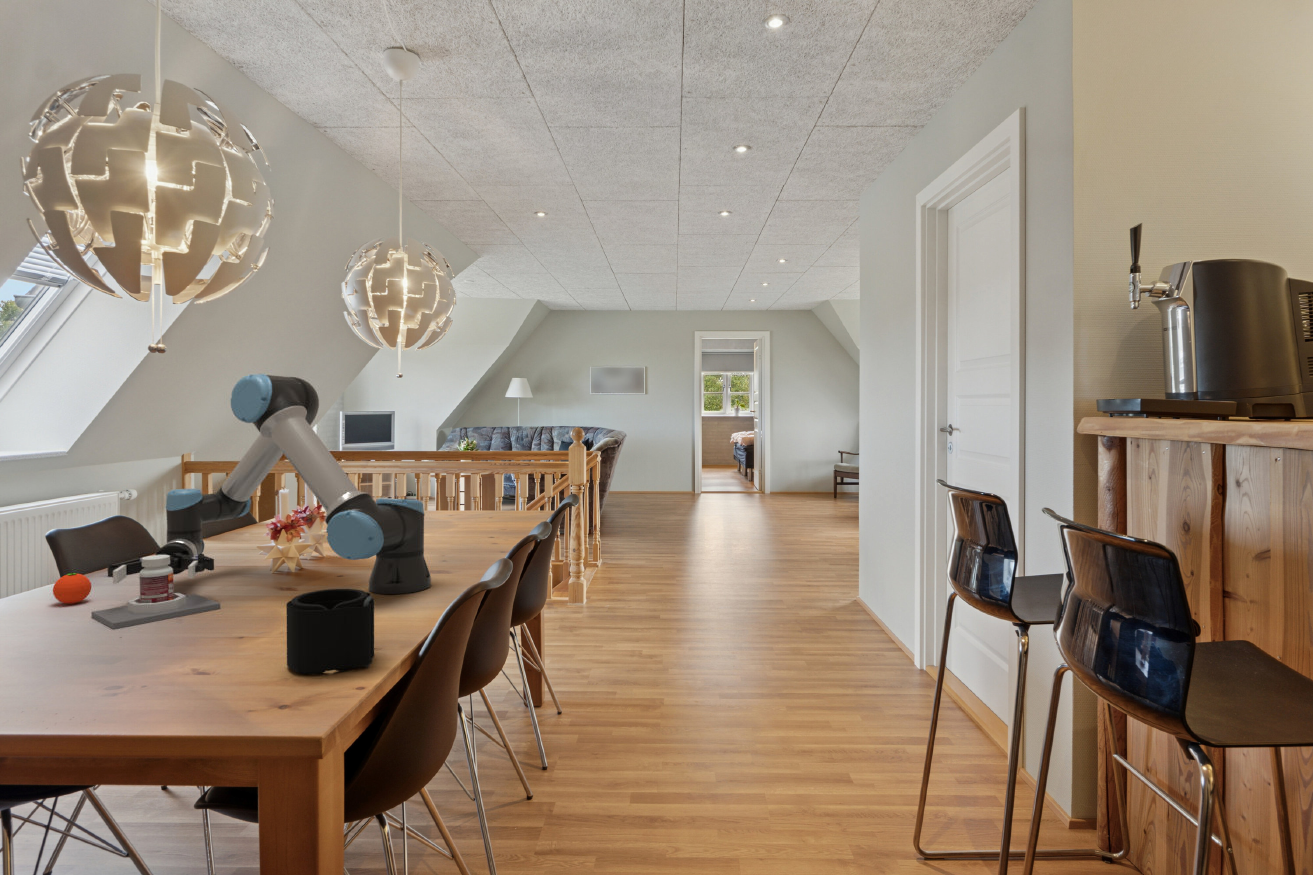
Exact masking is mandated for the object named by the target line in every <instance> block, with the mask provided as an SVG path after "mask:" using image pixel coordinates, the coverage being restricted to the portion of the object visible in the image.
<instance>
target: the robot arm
mask: <svg viewBox="0 0 1313 875" xmlns="http://www.w3.org/2000/svg"><path fill="white" fill-rule="evenodd" d="M230 408H231V411H232V413H233V415H234V416H235V417H236V418H237V419H238V420H239V421H241V422H244V423H246V424H251V423H252V424H253V425H254V427H255V428H256V429H257V431H258V432H259V433H260V434H259V435H258V437H256V440H254V442H253V443H252V445H251V446H250V447H249V449H248V450H247V451H246V452H245V454H244V455H243V456H242V458H241V460H240V461H239V462H238V463H237V464H236V466H235V467H234V469H233V470H232V472H230V474H229V475H228V477H227V478H226V480H225V481H223V484H222V485H221V486H220V487H219V488H218V490H217V491H216V492H214V493H213V492H212V493H207V494H206V493H204V494H202V491H201V489H199V488H179V489H178V488H177V489H172V490H169V491H168V492H167V494H166V502H165V510H166V512H165V513H166V543H165V544H164V545H163V546H162V547H160V548H159V549H157V551H156V552H155V554H154V555H169V556H170V564H168V566H170V567H171V568H172V569H173V576H174V575H179V574H182V573H183V572H184V571H187V572H188V573H187V579H194V577H195V576H196V575H197V574H198V573H202V572H204V571H205V570H206V571H210V572H211V571H214V570H215V559H214V558H212V557H209V556H207V555H205V554H204V550H205V542H204V539H203V538H202V537H203V536H202V531H203V529H202V527H203V524H205V523H211V522H218V521H225V520H234V519H237V518H240V517H244V516H246V514H248V513H249V512H250V510H251V505H252V500H251V497H252V495H253V494H254V493H255V491H256V490H257V489H258V487H259V486H261V484H262V482H263V481H264V480H265V479H266V477H267V476H268V475H269V473H270V472H271V471H272V469H273V468H274V467H275V465H276V464H277V462H279V461H280V459H281V458H282V456H283V455H284V457H285V458H286V459H287V460H288V462H290V464H291V465H292V467H293V468H294V470H295V471H296V472H297V474H298V475H299V477H300V478H301V479H302V481H303V482H304V483H305V484H306V486H307V487H308V488H309V489H310V491H311V492H312V494H313V496H314V497H315V498H316V500H317V501H318V502H319V504H320V505H321V506H322V507H323V509H324V510H325V512H326V514H325V518H324V522H325V524H326V530H325V531H326V533H327V536H326V540H327V543H328V545H329V546H330V548H331V550H333V552H334V553H335V554H336V555H338V556H339V557H341V558H342V559H345V560H346V559H347V560H349V561H350V560H352V561H357V560H365V559H369V558H373V557H374V556H375V561H374V564H373V567H372V570H371V574H370V576H369V580H368V591H370V592H371V593H375V594H382V595H383V594H384V595H396V594H397V595H399V594H400V595H401V594H410V593H415V592H420V591H423V590H427V589H428V588H430V587H431V584H432V578H431V573H430V570H429V567H428V564H427V562H426V560H425V559H426V558H425V556H424V555H425V546H424V545H425V508H424V507H425V506H424V503H423V502H422V501H421V500H419V499H410V498H409V499H404V498H403V499H402V498H384V497H383V498H379V497H378V498H377V499H376V501H375V500H374V498H373V497H372V495H371V494H370V493H369V492H366V491H360V490H359V489H358V488H357V486H356V485H355V484H354V481H352V480H351V479H350V477H349V476H348V474H347V472H345V470H344V469H343V468H342V466H341V465H340V464H339V462H338V461H337V459H336V458H335V457H334V456H333V455H332V453H331V451H329V449H328V448H327V446H326V445H325V443H324V442H323V441H322V439H321V438H320V437H319V436H318V434H317V432H316V431H315V430H314V429H313V428H312V426H311V425H312V424H313V422H314V421H315V419H316V416H317V415H318V411H319V408H320V399H319V395H318V393H317V391H316V389H315V388H314V386H313V384H311V383H310V382H309V381H307V380H305V379H303V378H300V377H295V376H282V375H281V376H280V375H272V374H271V375H269V374H264V373H258V374H247V375H245V376H243V377H241V378H240V379H239V380H237V382H236V384H235V385H234V386H233V388H232V391H231V398H230ZM142 558H143V557H141V556H138V557H134V558H132V559H129V560H125V561H120V562H117V563H113V564H109V565H107V577H108V578H112V584H113V585H114V584H115V585H117V584H119V583H121V582H122V581H123V580H124V579H126V578H127V576H131V575H135V574H136V575H137V574H139V573H140V571H141V570H142V569H144V568H145V567H142Z"/></svg>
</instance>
